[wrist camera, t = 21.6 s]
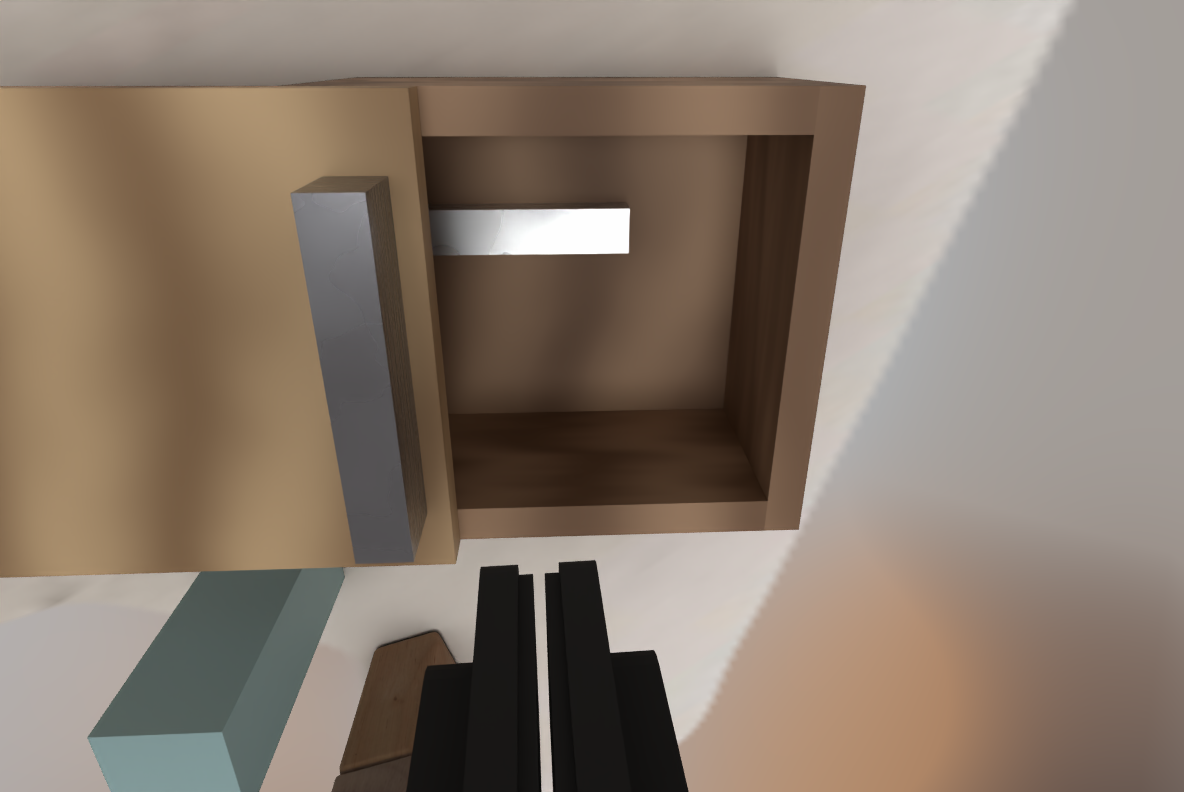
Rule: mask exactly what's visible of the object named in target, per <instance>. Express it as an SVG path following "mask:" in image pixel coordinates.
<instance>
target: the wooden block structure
mask: <svg viewBox="0 0 1184 792" xmlns="http://www.w3.org/2000/svg"><path fill="white" fill-rule="evenodd" d="M444 664H456V663H455V662H454V660H453V658H452V656H451V654H450V653H449V651H448V649H447V647H446V646H445V644H444V642H443V640H442V638H441V637H440V635H439V634H438V633H437V632H431V633H428V634H424V635H421V636H417V637H414V638H410V639H407V640H403V641H400V642H397V643H393V644H390V645H386V646H383V647H380V648H378V649H377V650H376V651H375V652H374V655H373V658H372V662H371V665H370V668H369V672H368V675H367V678H366V681H365V685H364V688H363V691H362V695H361V698H360V701H359V705H358V708H357V712H356V715H355V718H354V721H353V725H352V728H351V731H350V735H349V738H348V741H347V745H346V748H345V751H344V754H343V758H342V761H341V764H340V775H339V776H337V777H336V779H335V782H334V786H333V789H332V792H406V789H407V782H408V776H409V769H410V763H411V756H412V750H413V744H414V737H415V731H416V724H417V718H418V711H419V705H420V698H421V692H422V685H423V679H424V674H425V670H426V668H427V666H430V665H444Z"/></svg>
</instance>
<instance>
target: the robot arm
mask: <svg viewBox="0 0 1184 792" xmlns="http://www.w3.org/2000/svg"><path fill="white" fill-rule="evenodd" d="M545 593H546V623H547V652H548V681H549V710H550V734H551V755H552V777H553V792H688V787H687V783H686V779H685V775H684V770H683V766H682V761H681V757H680V753H679V748H678V744H677V740H676V735H675V731H674V727H673V723H672V718H671V714H670V710H669V705H668V701H667V697H666V692H665V688H664V684H663V679H662V675H661V671H660V666H659V662H658V659H657V655H656V653H655V651H654V650H648V651H633V652H619V653H610V649H609V642H608V636H607V629H606V623H605V616H604V610H603V603H602V597H601V590H600V584H599V577H598V571H597V565H596V561H595V560H592V561H575V562H559V573H545ZM406 792H541V762H540V729H539V702H538V679H537V656H536V632H535V609H534V586H533V574H526V575H519V569H518V565H506V566H489V567H481V569H480V578H479V591H478V604H477V617H476V630H475V643H474V656H473V663H459V664H444V665H430V666H427V668H426V670H425V674H424V679H423V685H422V692H421V698H420V705H419V711H418V718H417V724H416V731H415V737H414V744H413V750H412V756H411V763H410V769H409V776H408V782H407V789H406Z"/></svg>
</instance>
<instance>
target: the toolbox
mask: <svg viewBox="0 0 1184 792" xmlns="http://www.w3.org/2000/svg"><path fill="white" fill-rule="evenodd" d="M282 86H417V94H418V104H419V115H420V125H421V136H422V146H423V157H424V167H425V178H426V188H427V199H428V209H429V220H430V230H431V240H432V251H433V261H434V272H435V282H436V293H437V303H438V314H439V324H440V335H441V345H442V356H443V366H444V376H445V387H446V397H447V408H448V418H449V429H450V439H451V450H452V460H453V471H454V481H455V492H456V502H457V512H458V523H459V533H460V539H483V538H518V537H553V536H588V535H623V534H659V533H694V532H729V531H764V530H799V524H800V517H801V510H802V504H803V497H804V491H805V484H806V478H807V471H808V464H809V458H810V451H811V445H812V438H813V431H814V425H815V418H816V412H817V405H818V399H819V392H820V385H821V379H822V372H823V366H824V359H825V353H826V346H827V339H828V333H829V326H830V320H831V313H832V306H833V300H834V293H835V287H836V280H837V274H838V267H839V260H840V254H841V247H842V241H843V234H844V228H845V221H846V214H847V208H848V201H849V195H850V188H851V181H852V175H853V168H854V162H855V155H856V149H857V142H858V135H859V129H860V122H861V116H862V109H863V103H864V96H865V89H866V86H865V85H854V84H843V83H833V82H822V81H812V80H801V79H791V78H780V77H356V78H347V79H338V80H328V81H319V82H310V83H301V84H292V85H282Z"/></svg>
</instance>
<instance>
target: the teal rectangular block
mask: <svg viewBox="0 0 1184 792" xmlns="http://www.w3.org/2000/svg"><path fill="white" fill-rule="evenodd" d="M343 580H344V572H343V567H335V568H302V569H269V570H235V571H202V572H200V574H199V575H198V576H197V578H196V579H195V581H194V582H193V584H192V585H191V587H190V588H189V590H188V591H187V593H186V594H185V596H184V597H183V598H182V600H181V601H180V603H179V604H178V606H177V607H176V609H175V610H174V612H173V613H172V615H171V616H170V617H169V619H168V620H167V622H166V623H165V625H164V626H163V628H162V629H161V631H160V632H159V634H158V635H157V636H156V638H155V640H154V641H153V642H152V644H151V645H150V647H149V648H148V650H147V651H146V653H145V654H144V655H143V657H142V659H141V660H140V661H139V663H138V664H137V666H136V667H135V669H134V670H133V672H132V673H131V675H130V676H129V677H128V679H127V681H126V682H125V683H124V685H123V686H122V688H121V689H120V691H119V692H118V694H117V695H116V696H115V698H114V699H113V701H112V702H111V704H110V705H109V707H108V708H107V710H106V711H105V713H104V714H103V716H102V717H101V718H100V720H99V721H98V723H97V724H96V726H95V727H94V729H93V730H92V732H91V733H90V735H89V736H88V740H89V743H90V745H91V747H92V750H93V752H94V754H95V756H96V759H97V761H98V763H99V766H100V768H101V770H102V773H103V775H104V777H105V780H106V782H107V784H108V786H109V789H110V791H111V792H259V790H260V788H261V785H262V783H263V780H264V778H265V775H266V773H267V770H268V768H269V765H270V763H271V760H272V758H273V755H274V753H275V750H276V748H277V745H278V743H279V740H280V738H281V735H282V733H283V730H284V728H285V725H286V723H287V720H288V718H289V715H290V713H291V710H292V708H293V705H294V703H295V700H296V698H297V695H298V693H299V690H300V688H301V685H302V683H303V680H304V678H305V675H306V673H307V670H308V668H309V665H310V663H311V660H312V658H313V655H314V653H315V650H316V648H317V645H318V643H319V640H320V638H321V635H322V633H323V630H324V628H325V625H326V623H327V620H328V618H329V615H330V613H331V610H332V608H333V605H334V603H335V600H336V598H337V595H338V593H339V590H340V588H341V585H342V583H343Z"/></svg>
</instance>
